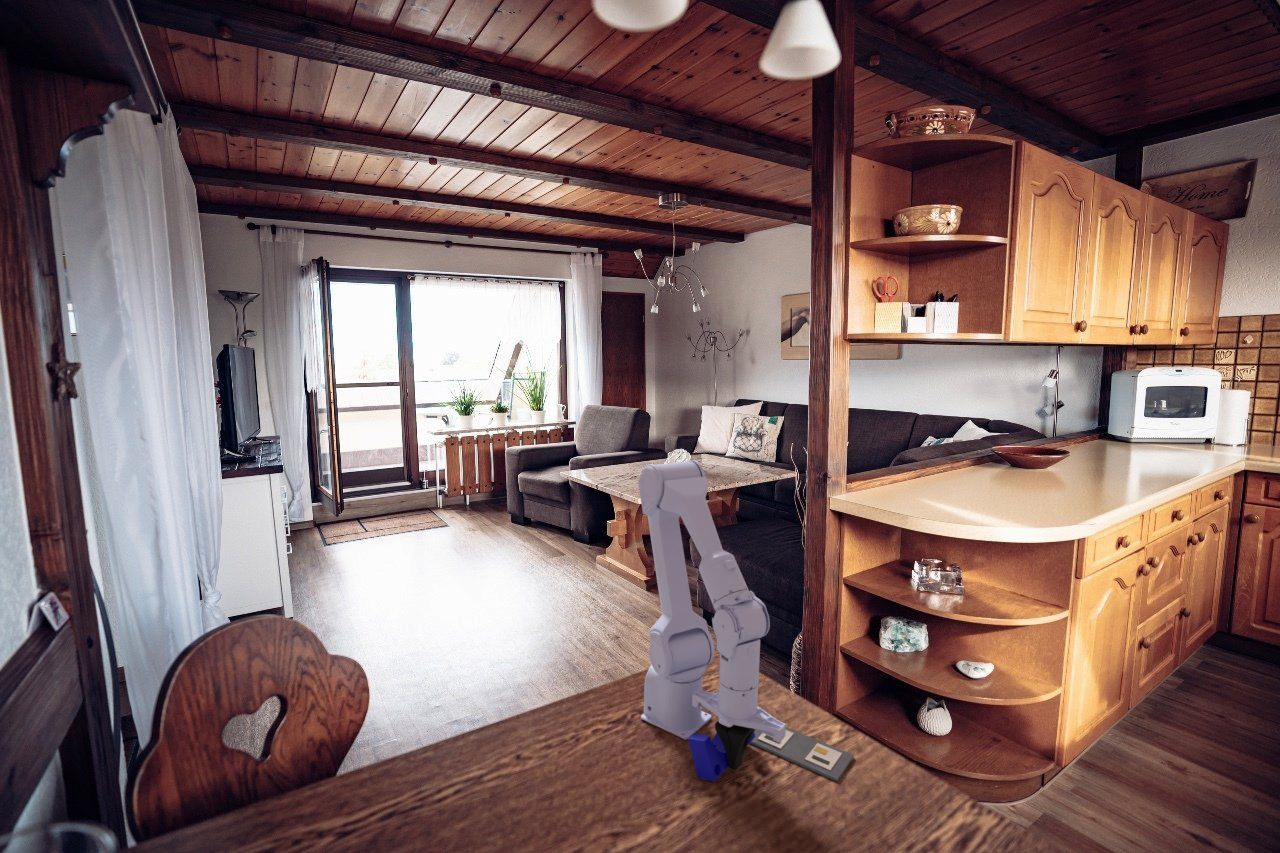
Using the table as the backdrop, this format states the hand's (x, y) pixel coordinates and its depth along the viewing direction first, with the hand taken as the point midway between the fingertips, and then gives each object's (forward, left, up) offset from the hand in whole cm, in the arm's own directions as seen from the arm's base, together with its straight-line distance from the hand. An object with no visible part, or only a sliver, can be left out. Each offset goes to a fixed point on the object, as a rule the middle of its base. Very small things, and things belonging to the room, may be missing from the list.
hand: (735, 765), depth 95 cm
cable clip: (-3, +1, -1) cm, 3 cm away
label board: (+5, +11, -1) cm, 12 cm away
